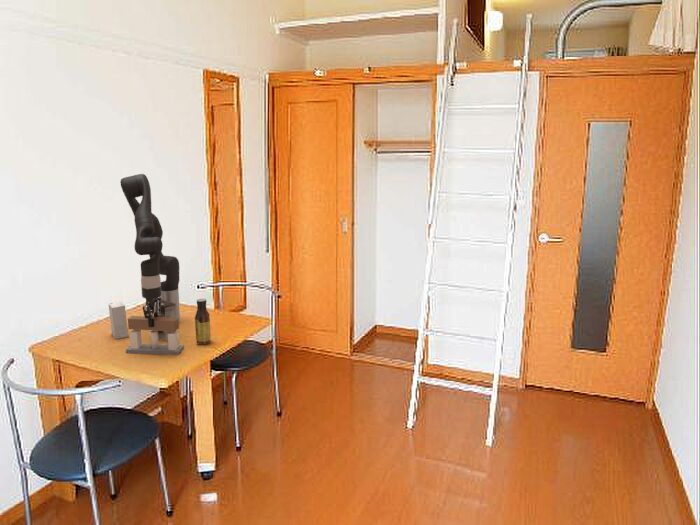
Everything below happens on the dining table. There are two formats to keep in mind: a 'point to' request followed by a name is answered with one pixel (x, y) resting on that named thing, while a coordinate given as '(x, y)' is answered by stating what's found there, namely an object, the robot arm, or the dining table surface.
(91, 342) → the dining table surface
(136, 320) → the frame bar
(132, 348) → the stand
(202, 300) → the sauce bottle
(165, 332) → the coffee box
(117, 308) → the skincare box
